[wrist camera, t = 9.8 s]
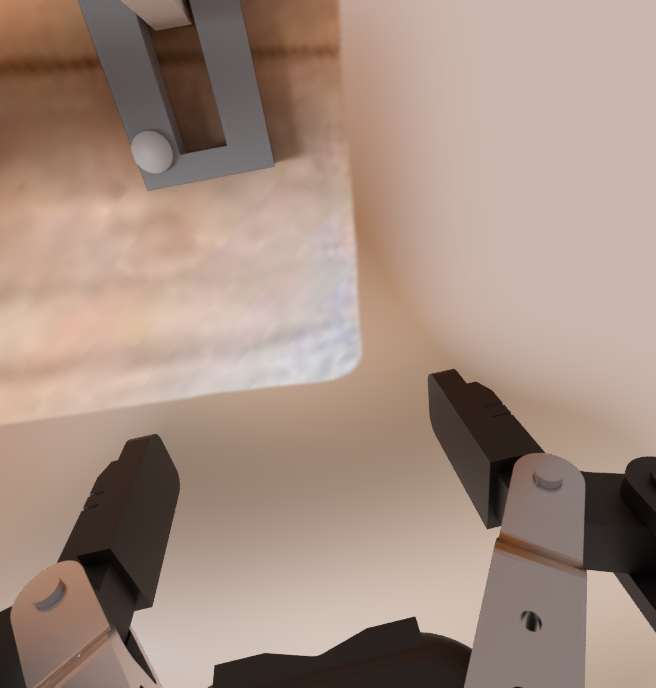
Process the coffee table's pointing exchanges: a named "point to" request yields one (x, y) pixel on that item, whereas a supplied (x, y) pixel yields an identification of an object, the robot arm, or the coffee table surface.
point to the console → (154, 102)
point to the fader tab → (161, 12)
